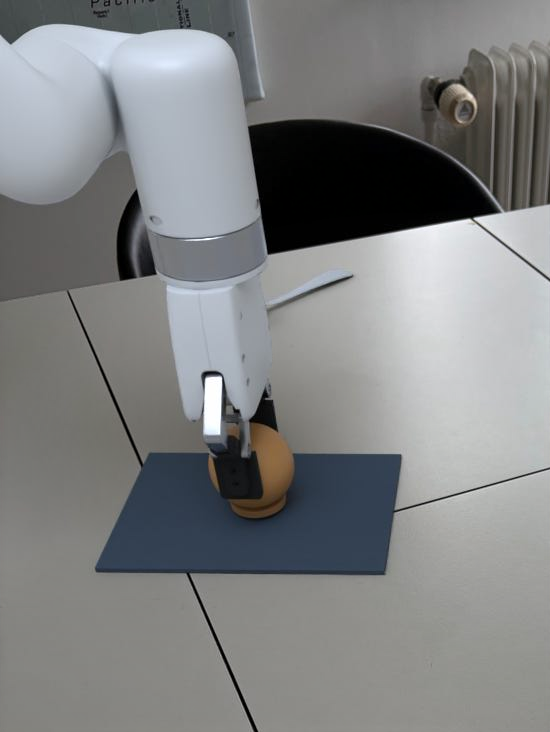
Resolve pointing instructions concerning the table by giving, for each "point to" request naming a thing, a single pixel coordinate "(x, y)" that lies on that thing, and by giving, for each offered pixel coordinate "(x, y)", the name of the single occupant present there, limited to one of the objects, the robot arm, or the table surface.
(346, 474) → the mat
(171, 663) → the table surface
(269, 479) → the orange ball with stem
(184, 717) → the table surface
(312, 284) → the fork
